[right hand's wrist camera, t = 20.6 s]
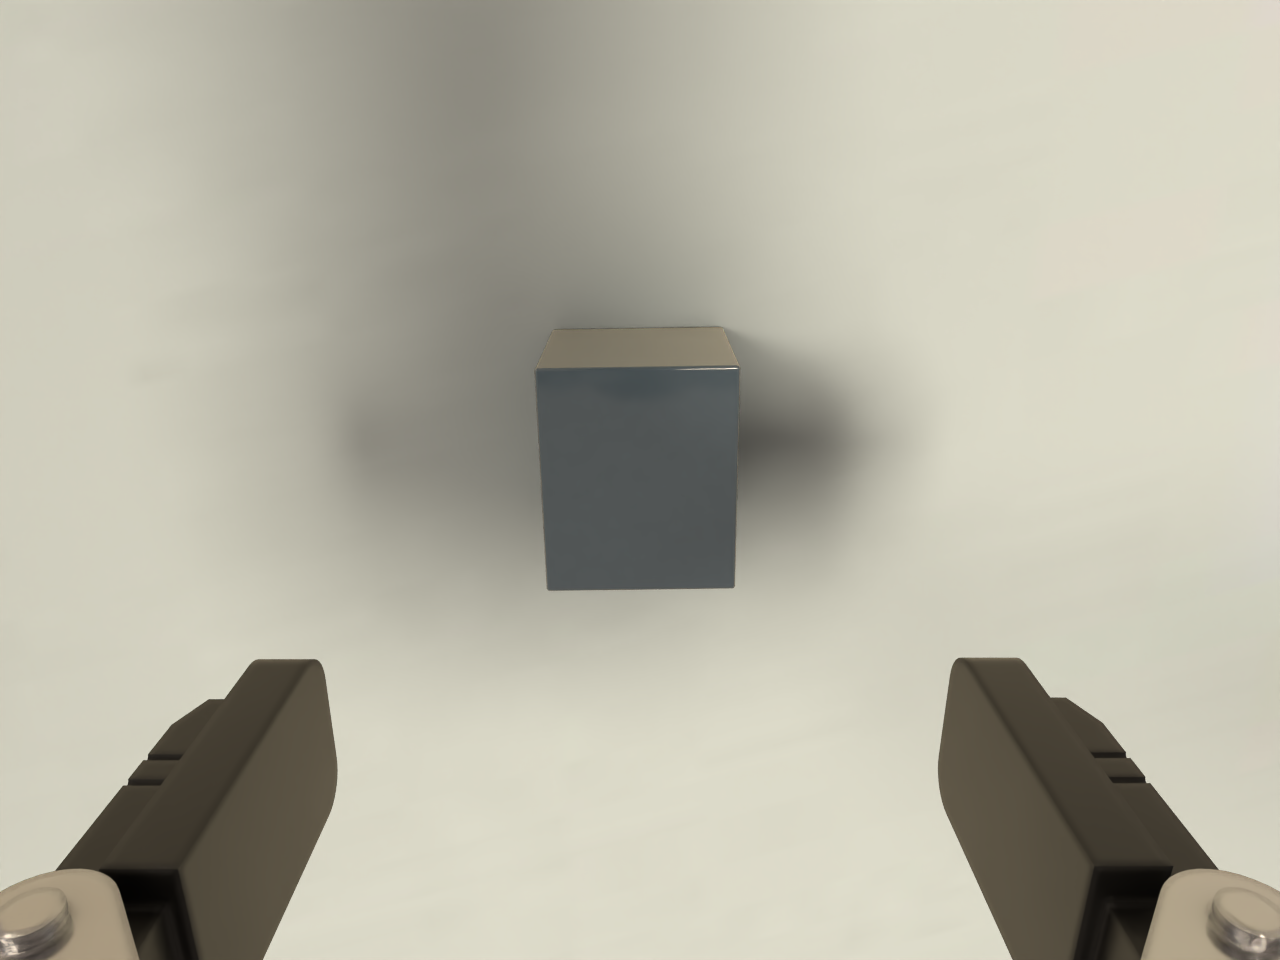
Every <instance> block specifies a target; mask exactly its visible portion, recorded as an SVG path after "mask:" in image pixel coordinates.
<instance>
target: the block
mask: <svg viewBox="0 0 1280 960" xmlns="http://www.w3.org/2000/svg"><path fill="white" fill-rule="evenodd" d="M535 388H536V405H537V423H538V441H539V459H540V476H541V494H542V512H543V529H544V547H545V565H546V583H547V589H548V590H549V591H562V590H638V589H713V588H734V586H735V562H736V522H737V481H738V441H739V401H740V366H739V364H738V362H737V359H736V357H735V355H734V352H733V350H732V348H731V346H730V343H729V341H728V339H727V337H726V334H725V332H724V330H723V328H722V327H692V328H623V329H555V330H553V331H552V333H551V335H550V338H549V340H548V342H547V344H546V346H545V349H544V351H543V353H542V355H541V358H540V360H539V362H538V364H537V366H536V369H535Z"/></svg>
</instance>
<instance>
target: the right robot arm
mask: <svg viewBox="0 0 1280 960" xmlns="http://www.w3.org/2000/svg"><path fill="white" fill-rule="evenodd" d="M938 779H939V788H940V794H941V798H942V802H943V806H944V809H945V811H946V814H947V816H948V818H949V820H950V823H951V825H952V827H953V829H954V831H955V834H956V836H957V838H958V840H959V842H960V845H961V847H962V849H963V851H964V854H965V856H966V858H967V860H968V862H969V865H970V867H971V869H972V871H973V873H974V876H975V878H976V880H977V882H978V884H979V887H980V889H981V891H982V893H983V895H984V898H985V900H986V902H987V904H988V906H989V909H990V911H991V913H992V915H993V917H994V920H995V922H996V924H997V926H998V928H999V931H1000V933H1001V935H1002V937H1003V939H1004V942H1005V944H1006V946H1007V948H1008V951H1009V953H1010V955H1011V957H1012V959H1013V960H1280V892H1279V891H1277V890H1276V889H1274V888H1272V887H1270V886H1268V885H1266V884H1263V883H1261V882H1259V881H1257V880H1254V879H1251V878H1248V877H1245V876H1242V875H1239V874H1235V873H1231V872H1227V871H1222V870H1218V868H1217V867H1216V866H1215V864H1214V863H1213V862H1212V861H1211V859H1210V858H1209V857H1208V856H1207V854H1206V853H1205V852H1204V851H1203V849H1202V848H1201V847H1200V845H1199V844H1198V843H1197V842H1196V840H1195V839H1194V838H1193V837H1192V835H1191V834H1190V833H1189V832H1188V830H1187V829H1186V828H1185V827H1184V825H1183V824H1182V823H1181V821H1180V820H1179V819H1178V818H1177V816H1176V815H1175V814H1174V813H1173V811H1172V810H1171V809H1170V808H1169V806H1168V805H1167V804H1166V802H1165V801H1164V800H1163V799H1162V797H1161V796H1160V795H1159V794H1158V792H1157V791H1156V790H1155V789H1154V787H1153V786H1152V785H1151V784H1150V783H1146V781H1145V776H1144V775H1143V773H1142V772H1141V771H1140V770H1139V768H1138V767H1137V766H1136V765H1135V763H1134V762H1133V761H1132V760H1131V758H1126V752H1125V751H1124V749H1123V748H1122V747H1121V746H1120V744H1119V743H1118V742H1117V741H1116V739H1115V738H1114V737H1113V735H1112V734H1111V733H1110V732H1109V730H1108V729H1107V728H1106V727H1105V725H1104V724H1103V723H1102V722H1101V721H1099V720H1098V719H1096V718H1095V717H1093V716H1092V715H1090V714H1089V713H1087V712H1086V711H1084V710H1083V709H1082V708H1080V707H1079V706H1077V705H1076V704H1074V703H1073V702H1071V701H1070V700H1068V699H1067V698H1050V697H1049V695H1048V694H1047V693H1046V691H1045V690H1044V689H1043V687H1042V686H1041V684H1040V683H1039V682H1038V680H1037V679H1036V678H1035V676H1034V675H1033V674H1032V672H1031V671H1030V669H1029V668H1028V667H1027V665H1026V664H1025V663H1024V662H1023V661H1022V660H1021V659H1019V658H958V659H957V660H956V661H955V662H954V664H953V666H952V669H951V674H950V680H949V687H948V694H947V701H946V708H945V716H944V723H943V730H942V737H941V744H940V752H939V760H938ZM336 785H337V757H336V750H335V743H334V736H333V729H332V722H331V715H330V708H329V701H328V694H327V687H326V679H325V674H324V670H323V667H322V665H321V663H320V662H319V661H318V660H315V659H258V660H255V661H253V662H252V663H251V664H250V665H249V667H248V668H247V669H246V671H245V672H244V673H243V675H242V676H241V677H240V679H239V680H238V682H237V683H236V684H235V686H234V687H233V688H232V690H231V691H230V692H229V694H228V695H227V696H226V698H225V699H209V700H207V701H206V702H204V703H203V704H201V705H200V706H198V707H197V708H196V709H194V710H193V711H191V712H190V713H188V714H187V715H185V716H184V717H182V718H181V719H179V720H178V721H177V722H175V723H174V724H172V725H171V726H170V728H169V729H168V730H167V731H166V733H165V734H164V735H163V736H162V738H161V739H160V740H159V741H158V743H157V744H156V745H155V746H154V748H153V749H152V750H151V751H150V753H149V754H148V760H143V761H142V763H141V764H140V765H139V766H138V768H137V769H136V770H135V771H134V773H133V774H132V775H131V776H130V778H129V779H128V785H127V786H122V788H121V789H120V790H119V792H118V793H117V794H116V795H115V797H114V798H113V799H112V800H111V802H110V803H109V804H108V805H107V807H106V808H105V809H104V810H103V812H102V813H101V814H100V815H99V817H98V818H97V819H96V820H95V822H94V823H93V824H92V825H91V827H90V828H89V829H88V830H87V832H86V833H85V834H84V835H83V837H82V838H81V839H80V840H79V842H78V843H77V844H76V845H75V847H74V848H73V849H72V850H71V852H70V853H69V854H68V855H67V857H66V858H65V859H64V860H63V862H62V863H61V864H60V865H59V867H58V868H57V869H56V870H55V871H53V872H49V873H45V874H41V875H38V876H35V877H32V878H29V879H26V880H23V881H21V882H19V883H17V884H14V885H12V886H10V887H8V888H6V889H4V890H3V891H1V892H0V960H263V958H264V956H265V954H266V952H267V949H268V947H269V945H270V943H271V941H272V938H273V936H274V934H275V932H276V930H277V928H278V925H279V923H280V921H281V919H282V917H283V915H284V912H285V910H286V908H287V906H288V904H289V901H290V899H291V897H292V895H293V893H294V891H295V888H296V886H297V884H298V882H299V880H300V877H301V875H302V873H303V871H304V869H305V867H306V864H307V862H308V860H309V858H310V856H311V854H312V851H313V849H314V847H315V845H316V843H317V840H318V838H319V836H320V834H321V832H322V830H323V827H324V825H325V823H326V821H327V819H328V817H329V814H330V812H331V809H332V806H333V802H334V798H335V792H336Z"/></svg>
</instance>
